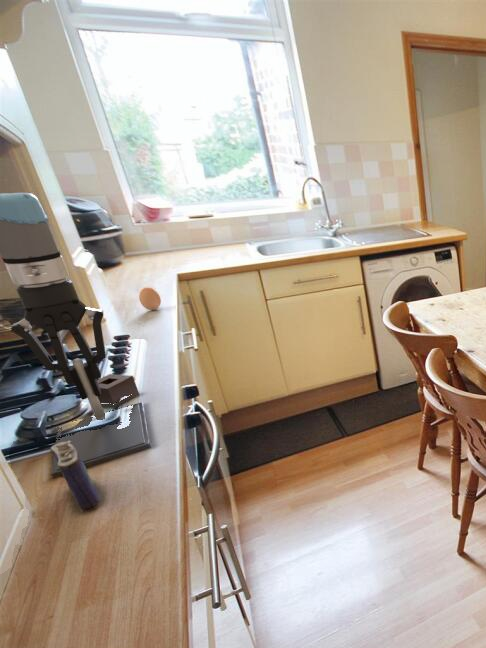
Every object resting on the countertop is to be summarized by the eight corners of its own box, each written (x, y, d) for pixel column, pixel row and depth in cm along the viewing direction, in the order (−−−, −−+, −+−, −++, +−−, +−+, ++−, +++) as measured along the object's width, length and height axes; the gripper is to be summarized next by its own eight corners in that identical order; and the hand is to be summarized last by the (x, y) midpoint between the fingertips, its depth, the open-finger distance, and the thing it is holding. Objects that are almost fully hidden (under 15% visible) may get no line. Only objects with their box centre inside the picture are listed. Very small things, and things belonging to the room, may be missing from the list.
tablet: (60, 428, 96) (57, 424, 95) (143, 405, 104) (142, 401, 103) (53, 478, 81) (50, 473, 81) (151, 447, 89) (149, 442, 89)
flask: (69, 489, 79) (43, 436, 75) (91, 480, 81) (67, 428, 77) (81, 514, 73) (54, 459, 69) (104, 504, 75) (80, 450, 71)
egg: (147, 308, 165) (139, 285, 161) (165, 306, 166) (158, 284, 163) (140, 313, 160) (132, 290, 156) (160, 311, 161) (152, 288, 158)
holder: (91, 406, 103) (83, 386, 101) (117, 392, 109) (109, 374, 107) (115, 408, 103) (107, 388, 101) (139, 394, 108) (132, 375, 106)
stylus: (95, 421, 96) (69, 360, 90) (102, 417, 97) (76, 356, 92) (101, 422, 95) (75, 360, 90) (108, 418, 97) (83, 357, 91)
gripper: (-17, 294, 78) (41, 415, 87) (94, 279, 86) (136, 390, 95) (-10, 285, 83) (44, 399, 92) (95, 271, 91) (134, 377, 101)
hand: (91, 394), depth 94 cm, fingers closed on stylus, 1 cm apart
